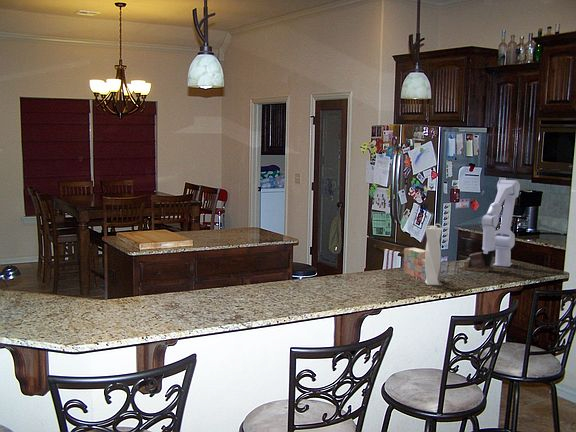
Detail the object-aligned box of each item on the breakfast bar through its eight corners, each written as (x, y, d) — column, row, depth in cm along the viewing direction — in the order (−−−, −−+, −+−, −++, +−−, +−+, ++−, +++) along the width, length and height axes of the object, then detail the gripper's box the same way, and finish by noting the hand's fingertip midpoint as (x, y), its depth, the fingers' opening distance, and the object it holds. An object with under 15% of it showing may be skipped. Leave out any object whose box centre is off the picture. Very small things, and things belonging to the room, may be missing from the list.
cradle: (469, 265, 332) (470, 256, 331) (492, 267, 326) (493, 258, 326) (464, 269, 321) (464, 260, 321) (488, 272, 316) (488, 262, 315)
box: (487, 265, 324) (484, 251, 324) (484, 267, 319) (480, 253, 319) (475, 267, 327) (472, 253, 327) (472, 269, 322) (468, 255, 322)
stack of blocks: (440, 280, 297) (441, 254, 295) (429, 282, 294) (429, 255, 293) (414, 271, 316) (415, 247, 315) (403, 272, 314) (404, 247, 312)
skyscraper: (443, 286, 286) (446, 224, 283) (425, 286, 286) (427, 223, 283) (439, 282, 295) (441, 221, 291) (421, 282, 295) (423, 221, 291)
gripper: (494, 241, 312) (493, 269, 313) (499, 237, 324) (498, 264, 326) (479, 240, 315) (478, 267, 316) (485, 236, 328) (484, 263, 329)
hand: (487, 266), depth 321 cm, fingers closed, pressing on box
